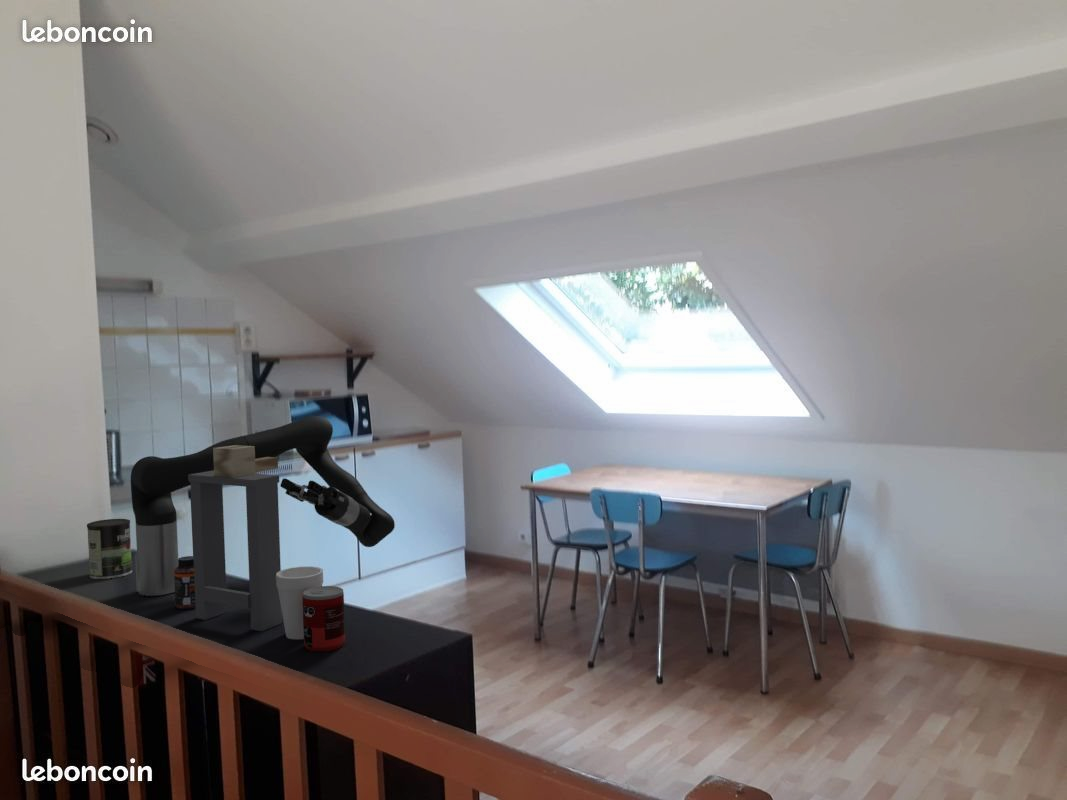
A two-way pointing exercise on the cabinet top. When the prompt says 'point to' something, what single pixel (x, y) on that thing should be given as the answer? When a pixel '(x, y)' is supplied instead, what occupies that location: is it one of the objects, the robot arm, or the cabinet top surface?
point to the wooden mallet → (240, 461)
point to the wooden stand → (260, 548)
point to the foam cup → (296, 596)
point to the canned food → (323, 618)
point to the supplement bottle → (184, 583)
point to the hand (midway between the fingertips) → (295, 483)
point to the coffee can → (109, 548)
